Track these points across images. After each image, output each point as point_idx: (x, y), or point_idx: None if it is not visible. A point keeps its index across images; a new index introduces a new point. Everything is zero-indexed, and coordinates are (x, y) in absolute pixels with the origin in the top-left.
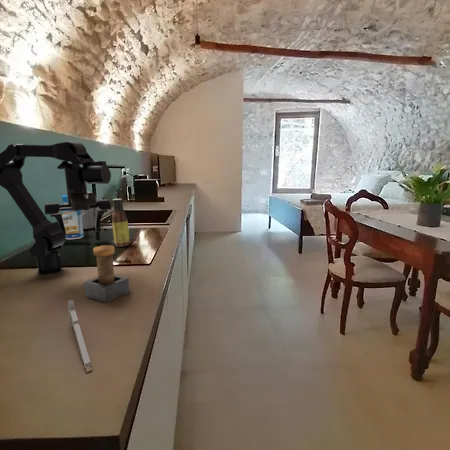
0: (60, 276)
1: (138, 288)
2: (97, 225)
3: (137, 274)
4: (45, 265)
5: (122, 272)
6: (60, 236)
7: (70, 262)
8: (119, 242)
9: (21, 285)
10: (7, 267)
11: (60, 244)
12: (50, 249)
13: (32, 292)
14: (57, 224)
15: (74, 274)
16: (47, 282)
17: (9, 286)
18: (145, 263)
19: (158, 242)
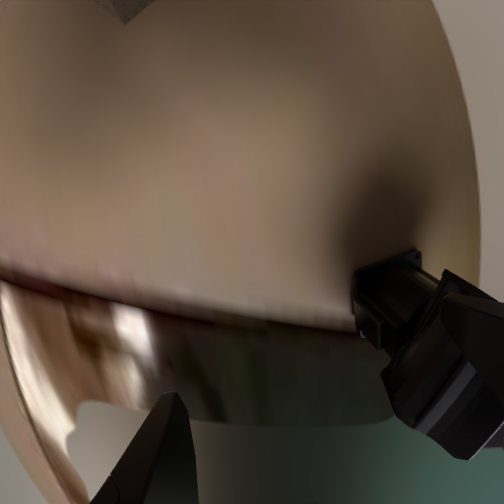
0: (349, 208)
1: (32, 5)
2: (148, 439)
3: (19, 153)
4: (415, 273)
5: (76, 192)
6: (428, 380)
7: (322, 371)
8: None
9: (446, 154)
10: None
11: (405, 355)
12: (443, 292)
13: (405, 66)
14: (464, 444)
15: (296, 218)
16: (383, 149)
17: (468, 160)
18: (13, 294)
19: (63, 476)
